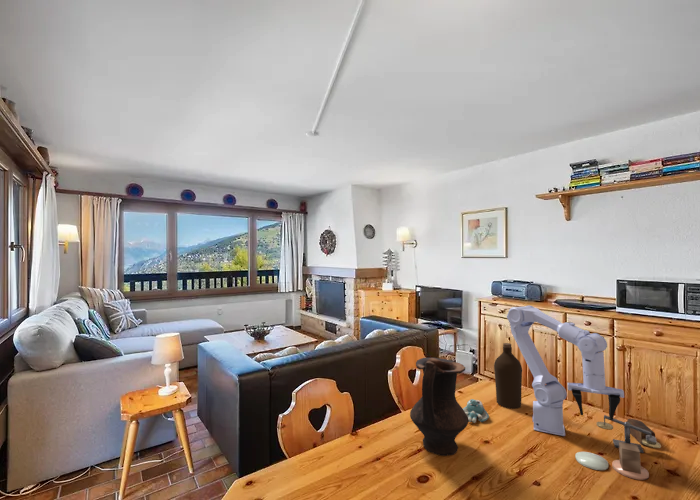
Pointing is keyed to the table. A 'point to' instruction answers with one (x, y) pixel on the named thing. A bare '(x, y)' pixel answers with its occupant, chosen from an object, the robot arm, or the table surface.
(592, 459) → the sage dish
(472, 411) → the stuffed animal
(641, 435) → the brick
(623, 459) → the walnut block
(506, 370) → the olive oil
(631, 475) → the pink disc
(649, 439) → the balance
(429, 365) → the jug
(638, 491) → the table surface
